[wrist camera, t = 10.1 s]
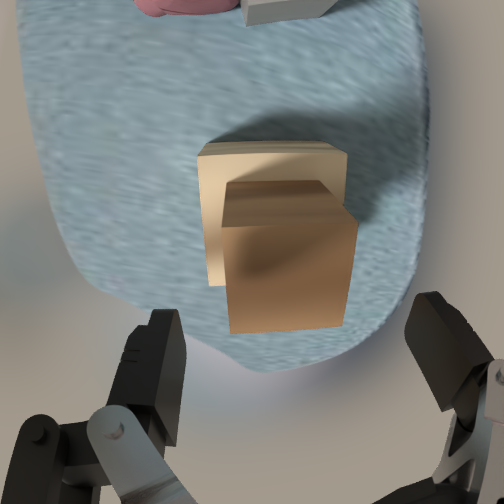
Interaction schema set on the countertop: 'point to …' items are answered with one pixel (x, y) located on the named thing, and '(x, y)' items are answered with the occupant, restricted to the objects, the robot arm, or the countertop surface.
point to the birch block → (259, 169)
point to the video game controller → (184, 7)
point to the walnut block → (286, 256)
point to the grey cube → (282, 10)
